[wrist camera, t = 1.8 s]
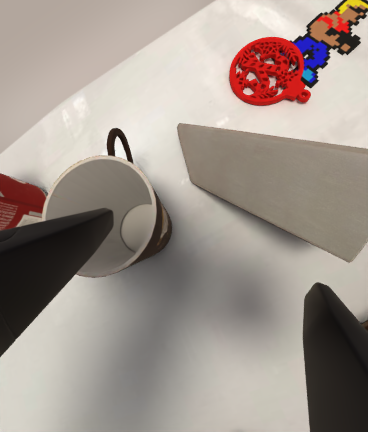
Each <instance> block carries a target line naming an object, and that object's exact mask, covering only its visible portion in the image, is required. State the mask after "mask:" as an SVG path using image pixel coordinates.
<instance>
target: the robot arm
mask: <svg viewBox="0 0 368 432" xmlns="http://www.w3.org/2000/svg"><path fill="white" fill-rule="evenodd" d="M113 226H114V213H113V211H112V210H111V209H108V208H100V209H96V210H91V211H87V212H82V213H78V214H73V215H69V216H64V217H60V218H55V219H51V220H46V221H42V222H37V223H33V224H28V225H24V226H21V227H14V228H10V229H5V230H1V231H0V357H1V356H2V355H3V354H4V352H5V351H6V350H7V349H8V348H9V347H10V346H11V345H12V344H13V343H14V341H15V340H16V339H17V338H18V337H19V336H20V335H21V334H22V332H23V331H24V330H25V329H26V328H27V327H28V326H29V325H30V324H31V323H32V321H33V320H34V319H35V318H36V317H37V316H38V315H39V314H40V313H41V312H42V310H43V309H44V308H45V307H46V306H47V305H48V304H49V303H50V302H51V301H52V300H53V298H54V297H55V296H56V295H57V294H58V293H59V292H60V291H61V290H62V289H63V287H64V286H65V285H66V284H67V283H68V282H69V281H70V280H71V279H72V278H73V276H74V275H75V274H76V273H77V272H78V271H79V270H80V269H81V268H82V267H83V265H84V264H85V263H86V262H87V261H88V260H89V259H90V258H91V257H92V256H93V254H94V253H95V252H96V251H97V249H98V248H99V247H100V245H101V244H102V243H103V241H104V240H105V238H106V237H107V236H108V234H109V233H110V232H111V230H112V229H113ZM303 348H304V361H305V374H306V386H307V399H308V412H309V425H310V432H368V331H367V330H366V329H365V328H364V327H363V326H362V324H361V323H360V322H359V321H358V320H357V319H356V317H355V316H354V315H353V314H352V313H351V312H350V310H349V309H348V308H347V307H346V306H345V305H344V303H343V302H342V301H341V300H340V299H339V298H338V296H337V295H336V294H335V293H334V292H333V291H332V289H331V288H330V287H329V286H327V285H324V284H321V283H315V284H314V285H313V286H312V288H311V289H310V290H309V292H308V293H307V295H306V296H305V300H304V319H303Z"/></svg>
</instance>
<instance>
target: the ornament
mask: <svg viewBox="0 0 368 432" xmlns="http://www.w3.org/2000/svg"><path fill="white" fill-rule="evenodd" d="M253 49H254V52H255V53H256V52H258V53H259V54H260V55H261V56H260V59H259V60H258V59H257V57H256V55H255V54H254V52H252V53H251V50H253ZM282 49H283V50H282ZM281 50H282V54H283V53H284V56H282V55H280V53H279V52H280V51H281ZM284 51H285V52H284ZM263 54H264V55H263ZM286 54H287V56H286ZM285 56H286V57H285ZM287 57H289V60H288V59H287ZM268 58H275V64H276V65H273V64H267V63H262V62H264V60H265V59H268ZM290 60H291V63H292V65H293V66H294V65H295V62H296V61H297V64H298V71H297V70H296V71H295V73H293V70H291V71H289V72H288V70H289V67H290V66H289V67H288V65H289V62H290ZM260 61H261V62H260ZM238 62H239V65H238V67H240V66H241V69H243V70H246V71H245V72H244V71H242V73H240V71H239V72H238V73H237V74H236V68H235V67H236V65H237V64H238ZM277 70H278V71H277ZM303 70H304V60H303V56H302V54H301V52H300V50H299V49H298V48H297V46H295V45H294V44H293V43H292V42H290V41H288V40H286V39H283V38H279V37H266V38H261V39H258V40H255V41H253V42H251V43H249V44H247V45H246V46H245V47H243V48H242V49H241V50H240V51H239V52H238V54H237V55H236V56H235V58H234V60H233V61H232V64H231V67H230V85H231V88H232V90H233V92H234V93H235V94H236V96H237V97H238V98H240V99H241V100H242V101H244V102H246V103H249V104H252V105H270V104H273V103H276V102H279V101H281V100H283V99H285V98H288V99H290V100H295V99H296V98H297V99H298V101H300V102H307V101H308V100H309V98H310V96H311V93H310V92H309V91H308V90H305V89H304V88H305V86H306V85H305V84H304V83H303V82H302V81H301V80H300V79H301V77H302V74H303ZM249 71H253V72H255V74H256V76H257V77H258V79H259V81H260V84H259V83H258V82H257V80H256V79H253V80H251V81H249V80H248V79H247V80H246V77H247V75H248V74H249ZM267 75H271V76H276V77H277V79H278V80H277V81H276V84H275V85H276V86H275V88H276V87H277V88H278V87H279V86H280V85H281V86H282V88H283V87H285V86H286V89H284V90H283V91H282V93H281V94H279V95H277V93H278V90H273V89H274V86H272V87H271V88H270V89H269V85H270V80H269V78H268V76H267ZM238 77H239V78H238ZM247 86H248V87H250V88H251V89H252V90H253V91H254V92H255V93H253V94H252V95H245V94H244V93H243V90H244V87H246V88H247ZM261 87H262V88H264V89H262V88H261ZM274 95H277V96H275V97H273V96H274ZM302 95H303V96H302ZM304 96H305V97H304Z"/></svg>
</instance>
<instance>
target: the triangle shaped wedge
mask: <svg viewBox="0 0 368 432" xmlns="http://www.w3.org/2000/svg"><path fill="white" fill-rule="evenodd" d="M177 130H178V136H179V139H180V143H181V147H182V150H183V154H184V158H185V161H186V165H187V168H188V172H189V176H190V180H191V182H192V183H193V184H195V185H197V186H199V187H201V188H203V189H205V190H207V191H209V192H211V193H212V194H214V195H216V196H218V197H220V198H222V199H224V200H226V201H228V202H230V203H232V204H234V205H236V206H238V207H240V208H242V209H244V210H246V211H248V212H250V213H252V214H254V215H256V216H258V217H260V218H262V219H264V220H265V221H267V222H269V223H271V224H273V225H275V226H277V227H279V228H281V229H283V230H285V231H287V232H289V233H291V234H293V235H295V236H297V237H299V238H301V239H303V240H305V241H307V242H309V243H311V244H313V245H315V246H317V247H319V248H321V249H323V250H325V251H327V252H329V253H331V254H333V255H335V256H337V257H339V258H341V259H343V260H345V261H347V262H349V263H350V262H352V261H353V260H354V259H355V258H356V256H357V255H358V254H359V252H360V251H361V250H362V248H363V247H364V246H365V244H366V243H367V242H368V149H365V148H357V147H350V146H343V145H336V144H328V143H321V142H314V141H306V140H299V139H292V138H284V137H277V136H270V135H263V134H257V133H250V132H243V131H236V130H228V129H221V128H214V127H206V126H199V125H191V124H182V123H179V124H178V127H177Z"/></svg>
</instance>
